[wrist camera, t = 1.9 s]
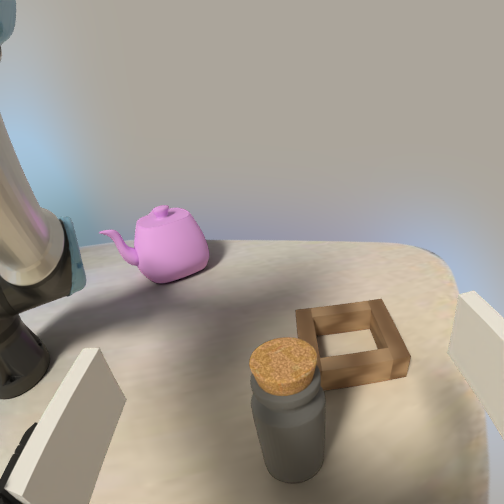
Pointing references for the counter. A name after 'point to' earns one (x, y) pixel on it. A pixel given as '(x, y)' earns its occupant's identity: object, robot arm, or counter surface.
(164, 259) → the teapot
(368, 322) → the block
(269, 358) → the bottle
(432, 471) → the counter surface
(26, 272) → the robot arm
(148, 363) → the counter surface
